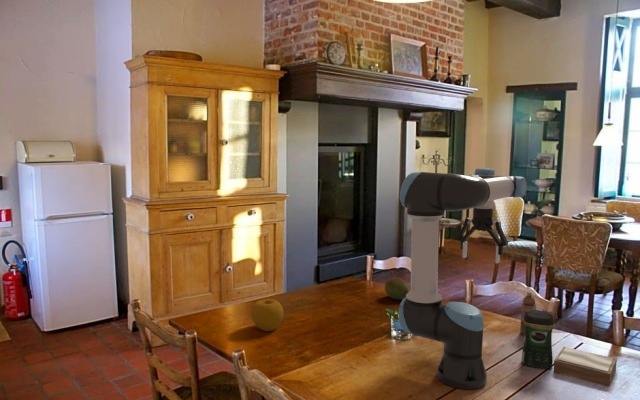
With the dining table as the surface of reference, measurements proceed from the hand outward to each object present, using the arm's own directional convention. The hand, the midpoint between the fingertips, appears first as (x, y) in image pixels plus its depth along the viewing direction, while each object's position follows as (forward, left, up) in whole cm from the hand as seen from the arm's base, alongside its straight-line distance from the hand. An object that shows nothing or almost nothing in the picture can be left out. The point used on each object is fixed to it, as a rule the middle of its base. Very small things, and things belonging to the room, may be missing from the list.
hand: (480, 260), depth 202 cm
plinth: (-18, -42, -28) cm, 54 cm away
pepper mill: (+4, -18, -28) cm, 33 cm away
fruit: (+13, +44, -28) cm, 53 cm away
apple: (-54, +66, -28) cm, 90 cm away
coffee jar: (-22, -28, -28) cm, 45 cm away
